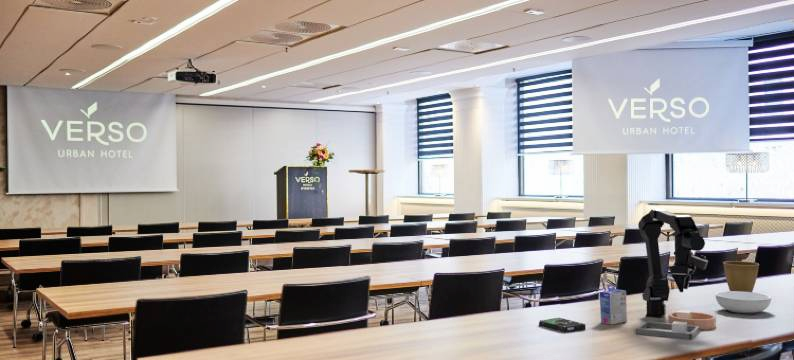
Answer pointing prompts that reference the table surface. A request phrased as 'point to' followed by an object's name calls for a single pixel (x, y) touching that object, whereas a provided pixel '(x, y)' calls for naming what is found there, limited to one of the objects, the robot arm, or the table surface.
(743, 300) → the serving bowl
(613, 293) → the ink cartridge box
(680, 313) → the white matte cube
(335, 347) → the table surface
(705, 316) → the bowl
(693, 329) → the parts tray
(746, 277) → the plant pot
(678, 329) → the pale grey cubic block
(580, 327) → the disk drive
